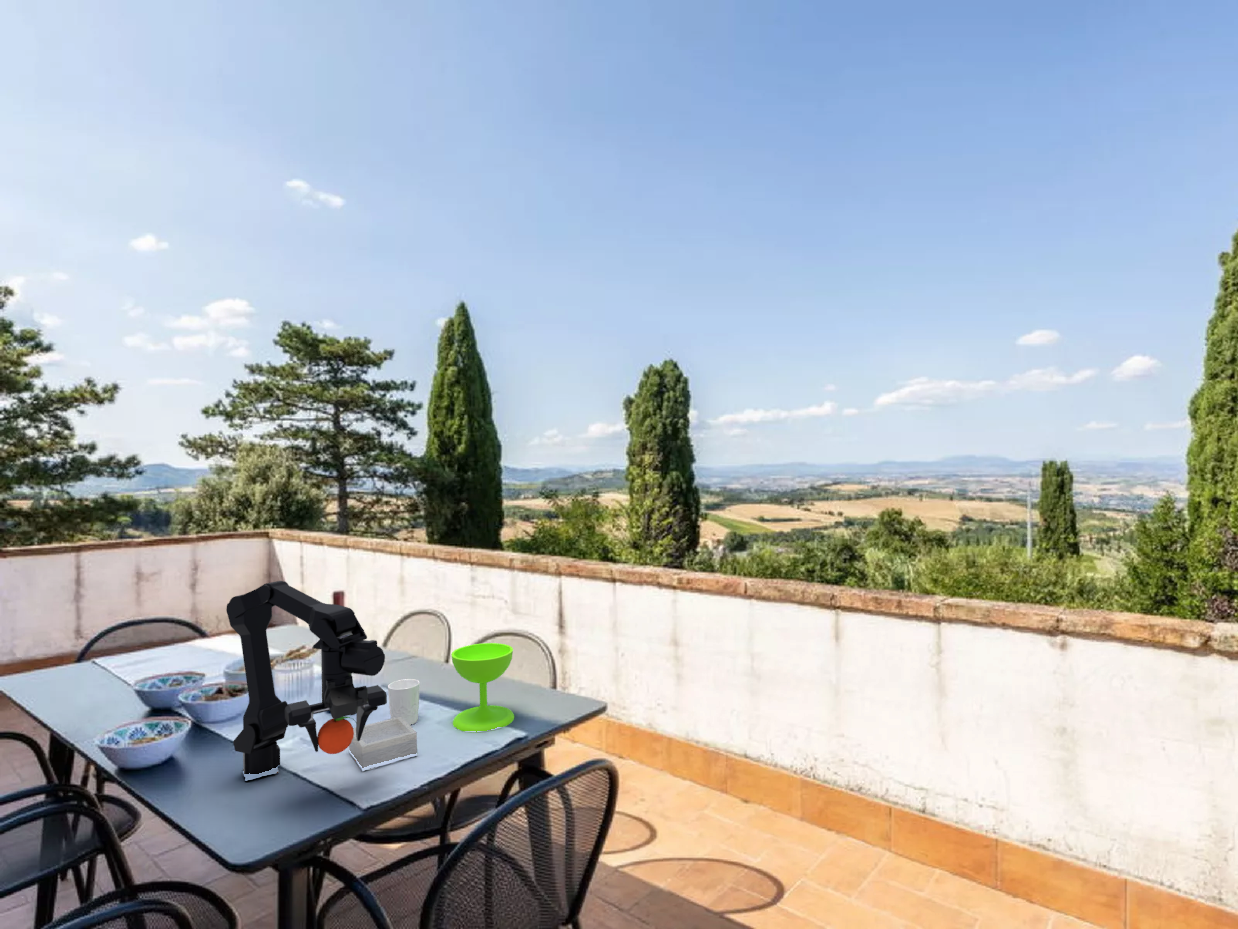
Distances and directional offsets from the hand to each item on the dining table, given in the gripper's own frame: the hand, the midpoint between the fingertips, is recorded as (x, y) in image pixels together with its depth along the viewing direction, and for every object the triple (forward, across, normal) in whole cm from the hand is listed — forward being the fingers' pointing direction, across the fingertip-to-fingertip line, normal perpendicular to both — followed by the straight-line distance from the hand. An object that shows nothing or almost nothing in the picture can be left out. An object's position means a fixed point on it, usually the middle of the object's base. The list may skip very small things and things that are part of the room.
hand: (337, 745), depth 129 cm
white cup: (+9, +22, +27) cm, 36 cm away
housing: (+9, +12, +11) cm, 19 cm away
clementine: (+1, 0, 0) cm, 1 cm away
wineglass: (+9, +39, +15) cm, 43 cm away
